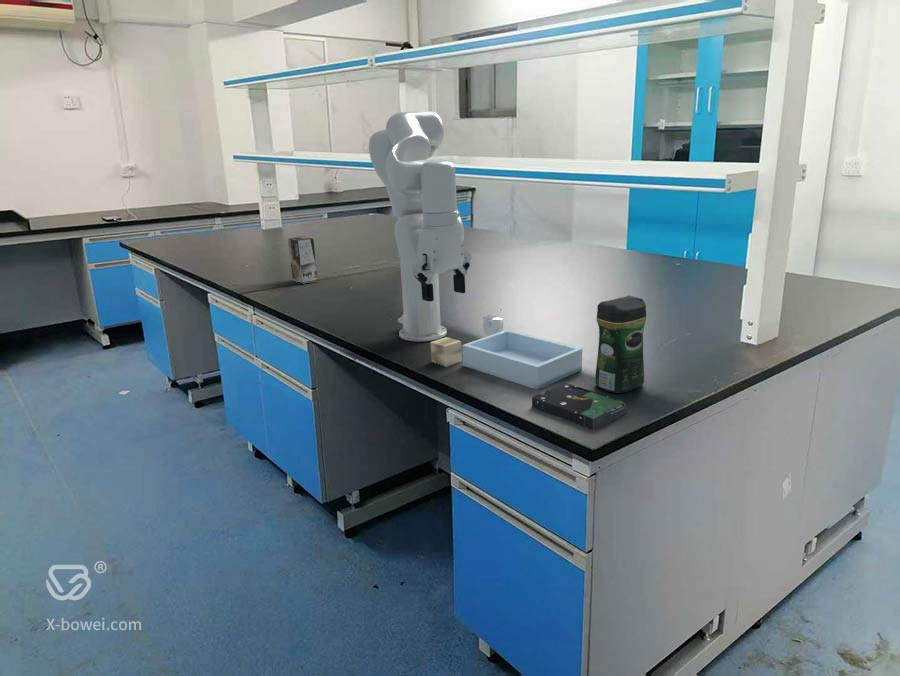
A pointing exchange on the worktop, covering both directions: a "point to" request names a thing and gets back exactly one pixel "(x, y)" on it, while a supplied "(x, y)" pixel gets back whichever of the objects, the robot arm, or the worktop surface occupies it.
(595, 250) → the worktop surface
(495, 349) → the tray
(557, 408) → the disk drive
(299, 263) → the coffee box
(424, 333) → the robot arm
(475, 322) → the worktop surface
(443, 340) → the wooden cube
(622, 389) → the coffee jar
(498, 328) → the aluminium cylinder
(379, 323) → the worktop surface
